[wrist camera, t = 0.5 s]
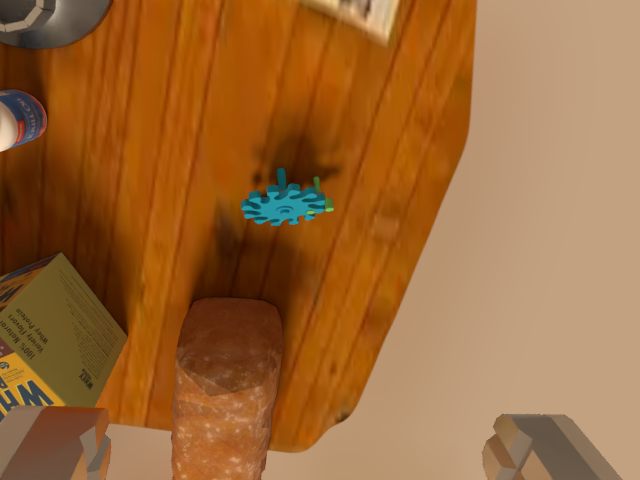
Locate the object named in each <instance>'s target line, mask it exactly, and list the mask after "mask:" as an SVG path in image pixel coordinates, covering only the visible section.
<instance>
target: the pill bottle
mask: <svg viewBox="0 0 640 480" xmlns="http://www.w3.org/2000/svg"><path fill="white" fill-rule="evenodd" d="M46 126H47V116H46V112H45V110H44V108H43V106H42V105H41V104H40V102H39V101H38V100H37V99H36V98H34V97H33V96H31V95H30V94H28V93H26V92H23V91H20V90H2V91H0V152H1V151H4V150H7V149H10V148H12V147H15V146H18V145H20V144H23V143H26V142H28V141H31V140H34V139H36V138H38V137H39V136H41V135H42V134H43V132H44V131H45V129H46Z"/></svg>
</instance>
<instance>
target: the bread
mask: <svg viewBox="0 0 640 480" xmlns="http://www.w3.org/2000/svg"><path fill="white" fill-rule="evenodd" d="M283 350H284V342H283V333H282V325H281V318H280V315H279V313H278V310H277V308H276V306H274V305H272V304H270V303H268V302H266V301H263V300H254V299H246V298H228V297H205V298H203V299H200V300H197V301H194V303H193V304H192V306H191V308H190V310H189V312H188V313H187V315H186V317H185V319H184V321H183V325H182V328H181V331H180V336H179V340H178V344H177V349H176V355H175V366H176V372H175V393H174V398H173V403H172V408H171V410H172V414H173V430H172V435H171V440H172V446H173V447H172V460H171V462H172V470H173V480H261V473H262V472H263V471H264V470H265V465H266V456H267V451H268V448H269V444H270V440H271V428H272V420H273V411H274V403H275V399H276V395H277V390H278V385H279V380H280V370H281V359H282V354H283Z"/></svg>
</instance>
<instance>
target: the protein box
mask: <svg viewBox="0 0 640 480" xmlns="http://www.w3.org/2000/svg"><path fill="white" fill-rule="evenodd" d="M127 338H128V337H127V335H126V334H125V333H124V331H123V330H122V329H121V327H120V326H119V325H118V324H117V322H116V321H115V320H114V319H113V317H112V316H111V315H110V313H109V312H108V311H107V310H106V308H105V307H104V306H103V304H102V303H101V302H100V301H99V299H98V298H97V297H96V295H95V294H94V293H93V292H92V290H91V289H90V288H89V286H88V285H87V284H86V283H85V281H84V280H83V279H82V277H81V276H80V275H79V274H78V272H77V271H76V270H75V268H74V267H73V266H72V265H71V263H70V262H69V261H68V260H67V258H66V257H65V256H64V254H63V253H62V252H59V253H57V254H54V255H52V256H50V257H47V258H45V259H42V260H40V261H38V262H35V263H32V264H30V265H28V266H25V267H23V268H20V269H18V270H15V271H13V272H11V273H8V274H6V275H4V276H1V277H0V423H1V421H2V420H3V418H4V417H5V416H6V414H7V413H8V412H9V411H10V410H12V409H13V408H14V407H15V406H17V405H30V406H66V407H90V408H94V407H95V405H96V403H97V401H98V399H99V397H100V394H101V392H102V390H103V388H104V386H105V384H106V382H107V380H108V378H109V376H110V374H111V371H112V369H113V367H114V365H115V363H116V361H117V359H118V357H119V355H120V353H121V351H122V348H123V346H124V344H125V343H126V340H127Z"/></svg>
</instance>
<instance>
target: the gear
mask: <svg viewBox="0 0 640 480" xmlns="http://www.w3.org/2000/svg"><path fill="white" fill-rule="evenodd" d="M277 179H278V185H269V186H267V195H268V197H261V192H260V191H253V192H250V193H249V199H245V200H243V201H242V202H241V210H244V216H245V218H253V217H254V221H255V222H256V223H258V224H262V223H264V222H266V221H268V220H270V224H271V225H274V226H279V225H281V222H282V221H284V220H286V219H288V220H289V224H298V223H299V218H298V216H300V215H304V217H305V220H311V219H314V218H315V214H314V213H322V212H323V211H324V210H325V211H333V210H334V207H333V200H332V199H331V198H327V199H325V194H324V193H323V192H321V190H320V181H319V177H314V178H313V180H314V187H308V188H307V189H305V190H303V191H300V185H298V184H293V183H291V184H289V185H288V188H287V185H286V174H285V169H284V168H279V169H277ZM253 202H254V203H253ZM324 204H325V205H324Z"/></svg>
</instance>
